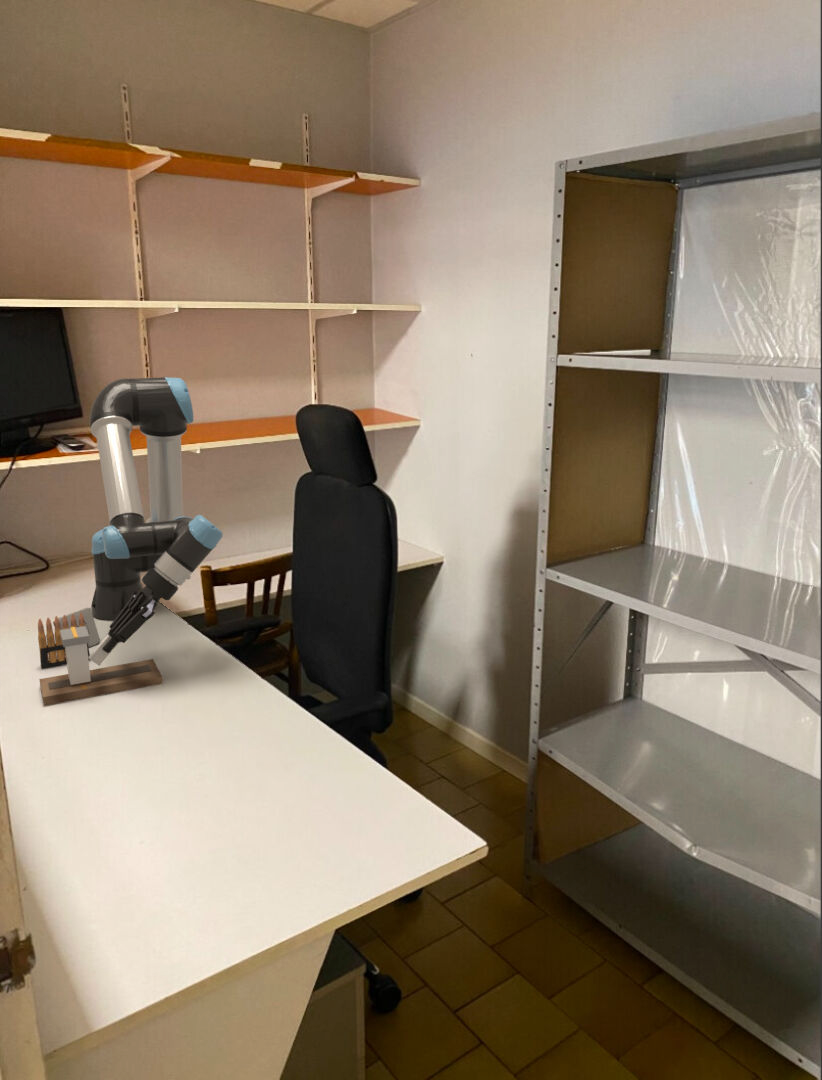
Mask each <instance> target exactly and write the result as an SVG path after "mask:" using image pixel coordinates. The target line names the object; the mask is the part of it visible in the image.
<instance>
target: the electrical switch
mask: <svg viewBox="0 0 822 1080" xmlns="http://www.w3.org/2000/svg"><path fill="white" fill-rule="evenodd" d="M80 612H81V613H82V614H83V617H84V621H85V626H86V629H87V631H88V634H89V638H90V643H88V647H89V648H92V647H93V646H95V645H99V644H100V643H101V639H100V638H101V637H100V636H99V632H98V629H97V625H96V621H95V619H94V618H95V617H94V616H93V615H92V611H91V607H85V608H82V609H79V610H76V611H74V612H71V613H68V614H64V615H65V616H66V618H67V621H68V626H69V629H70V628H71V616H72V614H74V616H75V619H76V623H77V627H79V615H80ZM58 619H59V622H60V627H61V630H63V616H61V617H58ZM54 622H55V620H54V621H53V622H52V623H53V624H52V625H53V627H54V628H55V625H54ZM64 653H65V651H64Z"/></svg>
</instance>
